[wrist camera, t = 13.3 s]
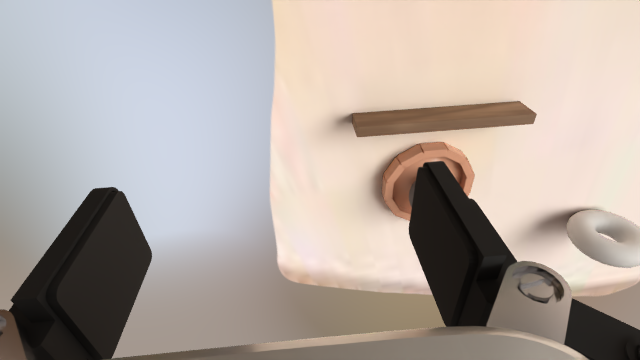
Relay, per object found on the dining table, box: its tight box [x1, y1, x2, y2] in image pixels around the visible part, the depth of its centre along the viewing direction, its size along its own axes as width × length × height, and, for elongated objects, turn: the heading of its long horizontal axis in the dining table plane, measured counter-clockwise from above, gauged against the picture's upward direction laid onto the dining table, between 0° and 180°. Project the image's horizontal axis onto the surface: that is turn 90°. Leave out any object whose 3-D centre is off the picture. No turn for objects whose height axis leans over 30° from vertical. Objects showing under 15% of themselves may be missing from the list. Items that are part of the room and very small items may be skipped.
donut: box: [566, 210, 640, 268], centre depth 50 cm, size 10×4×10 cm, turn 91°
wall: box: [352, 101, 537, 137], centre depth 40 cm, size 1×20×4 cm, turn 93°
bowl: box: [382, 142, 475, 221], centre depth 47 cm, size 12×12×2 cm
